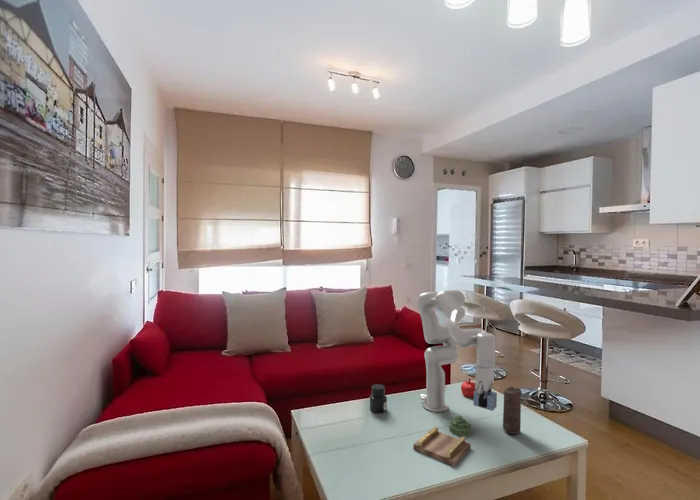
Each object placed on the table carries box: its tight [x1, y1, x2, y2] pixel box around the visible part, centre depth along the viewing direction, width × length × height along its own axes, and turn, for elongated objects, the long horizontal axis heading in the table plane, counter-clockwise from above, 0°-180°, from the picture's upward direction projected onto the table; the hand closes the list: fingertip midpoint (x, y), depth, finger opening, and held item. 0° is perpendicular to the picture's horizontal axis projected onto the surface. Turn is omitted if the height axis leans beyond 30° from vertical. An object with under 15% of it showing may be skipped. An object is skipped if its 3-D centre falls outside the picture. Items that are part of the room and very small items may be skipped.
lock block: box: [473, 389, 498, 412], centre depth 155 cm, size 8×5×6 cm, turn 50°
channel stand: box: [412, 426, 472, 467], centre depth 152 cm, size 18×16×4 cm
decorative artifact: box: [448, 415, 472, 437], centre depth 167 cm, size 10×7×10 cm
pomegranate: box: [460, 378, 476, 398], centre depth 205 cm, size 10×10×9 cm
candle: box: [502, 386, 522, 435], centre depth 165 cm, size 8×7×20 cm
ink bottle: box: [369, 383, 388, 414], centre depth 187 cm, size 10×9×12 cm
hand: (484, 404), depth 155 cm, fingers closed on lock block, 5 cm apart
